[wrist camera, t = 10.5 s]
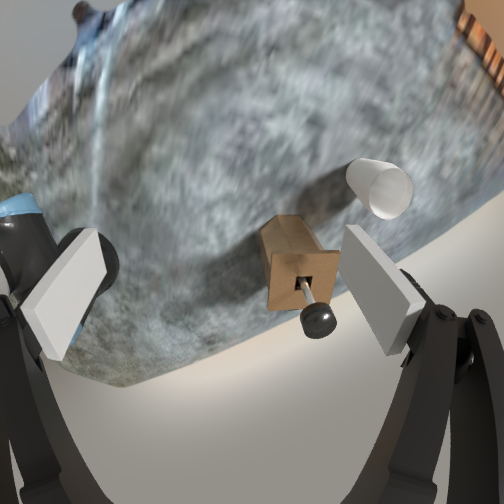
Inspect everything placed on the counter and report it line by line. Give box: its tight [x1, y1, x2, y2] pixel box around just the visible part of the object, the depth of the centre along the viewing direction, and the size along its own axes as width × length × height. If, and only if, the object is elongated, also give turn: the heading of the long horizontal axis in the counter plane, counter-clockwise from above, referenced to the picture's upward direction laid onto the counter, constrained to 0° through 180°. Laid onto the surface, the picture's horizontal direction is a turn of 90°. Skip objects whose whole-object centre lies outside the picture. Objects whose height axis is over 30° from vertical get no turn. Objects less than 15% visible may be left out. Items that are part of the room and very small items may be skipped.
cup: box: [346, 158, 413, 219], centre depth 45 cm, size 9×9×12 cm
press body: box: [259, 215, 340, 311], centre depth 50 cm, size 10×13×15 cm
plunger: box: [297, 276, 337, 339], centre depth 43 cm, size 8×8×20 cm
